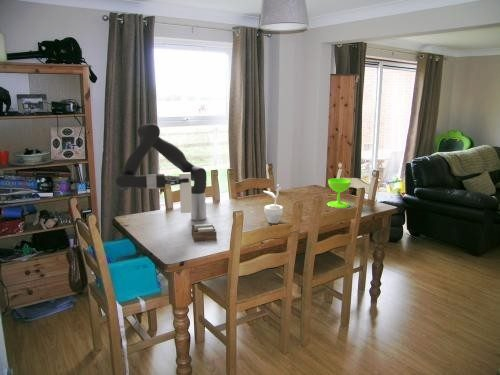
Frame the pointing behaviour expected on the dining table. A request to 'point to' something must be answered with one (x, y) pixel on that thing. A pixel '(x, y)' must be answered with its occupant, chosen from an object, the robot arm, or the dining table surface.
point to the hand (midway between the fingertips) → (188, 179)
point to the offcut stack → (204, 227)
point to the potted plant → (273, 208)
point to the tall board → (185, 194)
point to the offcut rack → (203, 235)
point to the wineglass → (339, 186)
